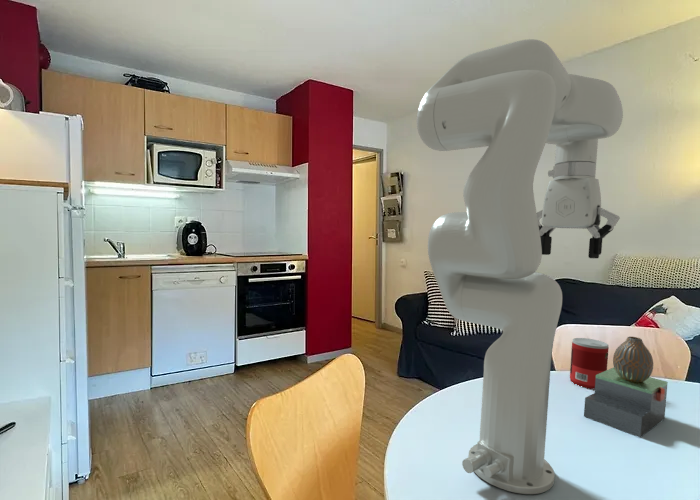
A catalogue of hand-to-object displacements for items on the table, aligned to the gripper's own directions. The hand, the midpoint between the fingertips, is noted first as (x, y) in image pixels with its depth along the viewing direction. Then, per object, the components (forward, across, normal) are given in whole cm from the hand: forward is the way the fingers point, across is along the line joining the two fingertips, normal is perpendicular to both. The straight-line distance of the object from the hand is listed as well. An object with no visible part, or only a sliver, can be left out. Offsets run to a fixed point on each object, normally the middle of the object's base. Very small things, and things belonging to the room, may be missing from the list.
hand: (568, 256), depth 83 cm
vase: (+26, +9, +12) cm, 30 cm away
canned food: (+34, -4, +24) cm, 41 cm away
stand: (+33, +9, +10) cm, 36 cm away
